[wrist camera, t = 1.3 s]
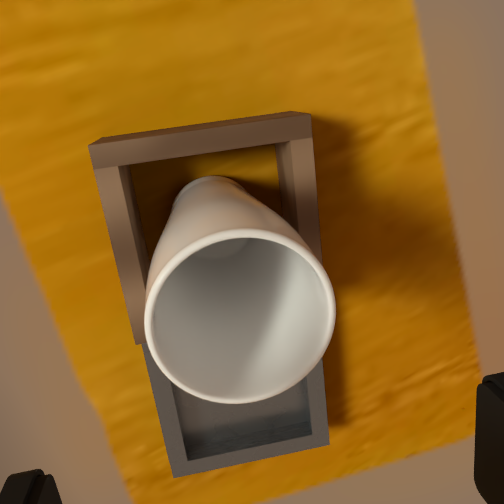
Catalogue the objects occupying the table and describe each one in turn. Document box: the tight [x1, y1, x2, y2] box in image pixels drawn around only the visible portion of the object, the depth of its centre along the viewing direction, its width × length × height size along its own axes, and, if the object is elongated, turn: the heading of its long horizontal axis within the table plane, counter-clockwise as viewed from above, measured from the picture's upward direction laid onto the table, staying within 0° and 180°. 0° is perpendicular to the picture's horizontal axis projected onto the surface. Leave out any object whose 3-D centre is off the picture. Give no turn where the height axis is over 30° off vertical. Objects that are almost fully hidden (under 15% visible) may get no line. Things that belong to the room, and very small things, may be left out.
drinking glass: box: [144, 176, 336, 404], centre depth 23 cm, size 7×7×15 cm
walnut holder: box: [88, 111, 323, 345], centre depth 28 cm, size 11×11×4 cm
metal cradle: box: [142, 343, 330, 478], centre depth 33 cm, size 11×12×2 cm
